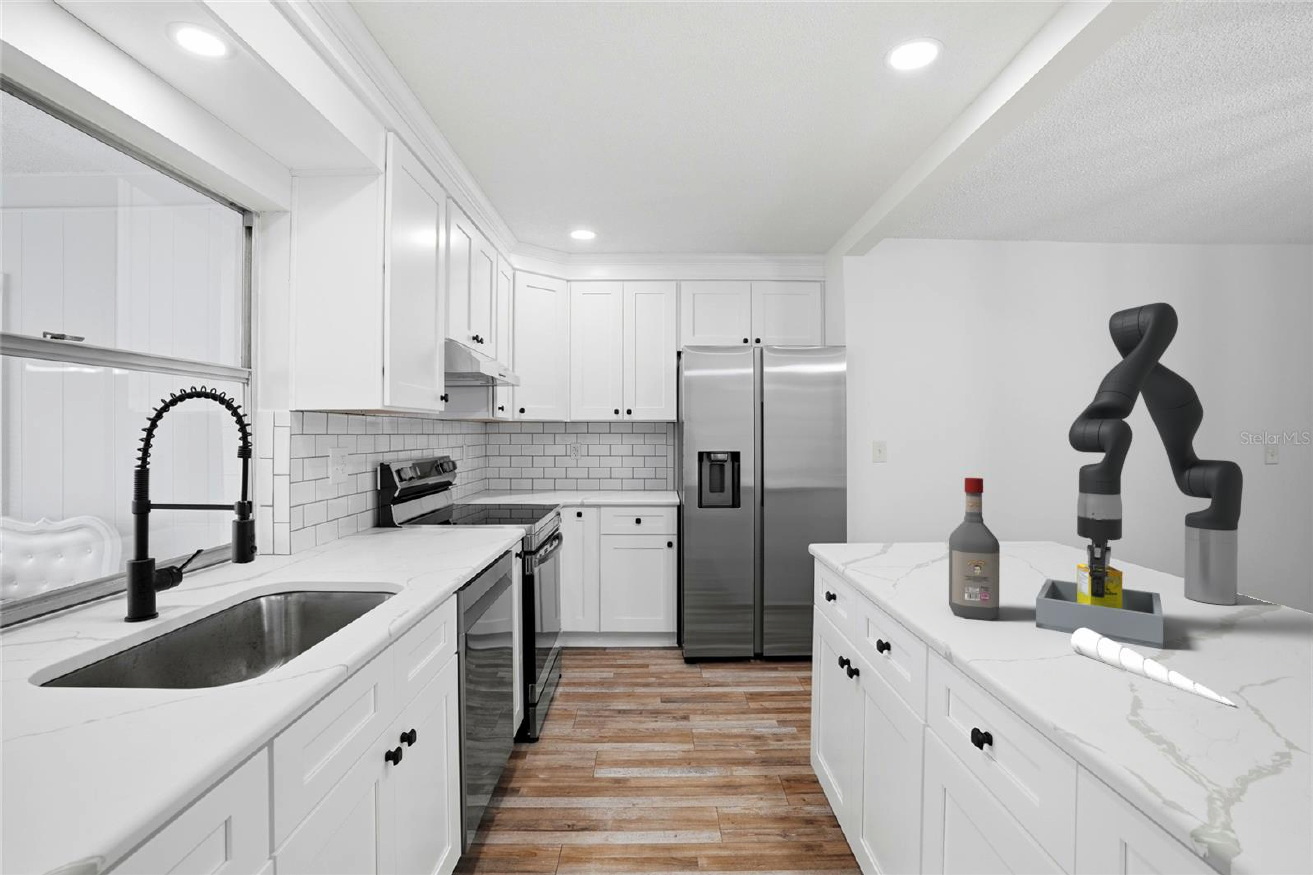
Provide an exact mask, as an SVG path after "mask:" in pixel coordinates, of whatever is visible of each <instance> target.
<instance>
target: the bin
mask: <svg viewBox="0 0 1313 875" xmlns="http://www.w3.org/2000/svg"><path fill="white" fill-rule="evenodd" d="M1163 613H1164V612H1163V607H1162V601H1161V594H1160V593H1159V592H1153V591H1152V592H1151V591H1146V590H1145V591H1143V590H1137V589H1136V590H1135V589H1131V588H1130V589H1129V588H1122V609H1117V608H1110V607H1103V606H1096V605H1089V604H1082V603H1077V582H1075V581H1067V580H1060V579H1059V580H1058V579H1051V578H1046V579H1045V581H1044V583H1043V585H1042V587H1041V589H1040V590H1039V592H1038V594H1037V596H1035V627H1036V628H1039V629H1045V630H1052V631H1058V632H1063V633H1069V634H1072V635H1073V634H1074V632H1075V631H1076V630H1078V629H1080V628H1087V629H1090V630H1092V631H1094V632H1096V633H1098V634H1100V635H1102V636H1104V637H1105V638H1108V639H1110V640H1112V641H1114V642H1118V643H1126V644H1133V645H1138V646H1143V647H1148V648H1155V649H1159V650H1160V649H1161V650H1164V614H1163Z"/></svg>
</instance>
